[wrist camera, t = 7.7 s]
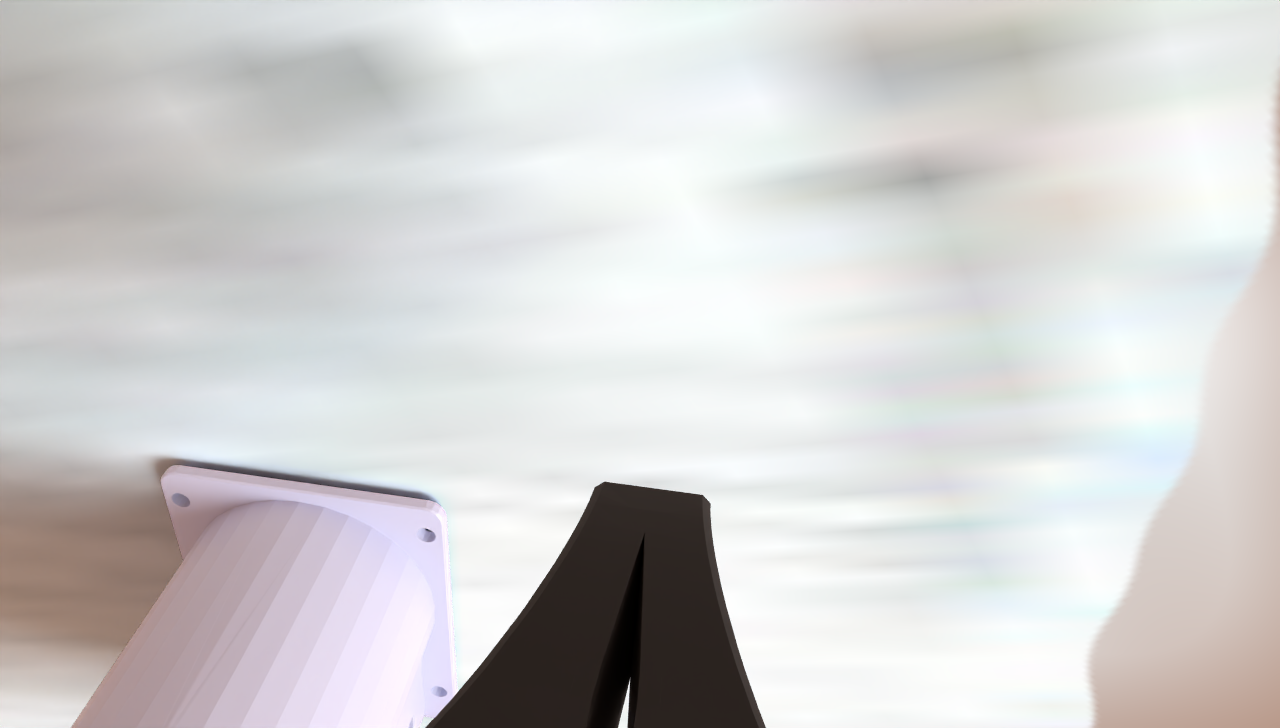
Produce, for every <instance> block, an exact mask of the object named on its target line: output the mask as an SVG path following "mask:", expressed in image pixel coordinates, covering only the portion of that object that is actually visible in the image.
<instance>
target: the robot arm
mask: <svg viewBox="0 0 1280 728" xmlns="http://www.w3.org/2000/svg"><path fill="white" fill-rule="evenodd" d="M160 480H161V486H162V490H163V493H164V497H165V500H166V504H167V507H168V511H169V514H170V517H171V521H172V524H173V528H174V531H175V535H176V538H177V541H178V545H179V548H180V552H181V555H182V559H183V562H182V563H181V565H180V566H179V568H178V569H177V571H176V572H175V574H174V575H173V577H172V578H171V580H170V581H169V583H168V584H167V586H166V587H165V589H164V590H163V592H162V593H161V595H160V596H159V598H158V599H157V601H156V602H155V604H154V605H153V607H152V608H151V609H150V611H149V612H148V614H147V615H146V617H145V618H144V620H143V621H142V623H141V624H140V626H139V627H138V629H137V630H136V632H135V633H134V635H133V636H132V638H131V639H130V641H129V642H128V644H127V645H126V647H125V648H124V650H123V651H122V653H121V654H120V656H119V657H118V659H117V660H116V661H115V663H114V664H113V666H112V667H111V669H110V670H109V672H108V673H107V675H106V676H105V678H104V679H103V681H102V682H101V684H100V685H99V687H98V688H97V690H96V691H95V693H94V694H93V696H92V697H91V699H90V700H89V702H88V703H87V705H86V706H85V708H84V709H83V711H82V712H81V714H80V715H79V716H78V718H77V719H76V721H75V722H74V724H73V725H72V727H71V728H420V725H421V722H422V720H423V717H424V716H425V717H431V718H434V719H433V720H432V721H431V722H430V723H429V724H428V726H427V727H426V728H618V725H619V721H620V717H621V713H622V709H623V705H624V701H625V697H626V693H627V689H628V685H629V681H630V693H629V711H628V728H766V727H765V724H764V722H763V719H762V717H761V714H760V711H759V709H758V706H757V703H756V700H755V697H754V695H753V692H752V689H751V686H750V683H749V680H748V678H747V675H746V672H745V669H744V666H743V662H742V659H741V656H740V653H739V650H738V647H737V643H736V639H735V636H734V632H733V629H732V625H731V622H730V618H729V615H728V611H727V608H726V604H725V600H724V596H723V591H722V587H721V583H720V578H719V573H718V568H717V563H716V558H715V552H714V546H713V538H712V530H711V517H710V502H709V501H708V500H707V499H706V498H705V497H704V496H703V495H698V494H691V493H684V492H676V491H669V490H662V489H654V488H647V487H639V486H632V485H625V484H617V483H610V482H603V483H602V484H600V485H598V486H596V487H595V488H594V491H593V493H592V496H591V498H590V501H589V503H588V505H587V507H586V509H585V511H584V513H583V515H582V517H581V519H580V521H579V523H578V524H577V526H576V528H575V530H574V532H573V533H572V535H571V537H570V539H569V540H568V542H567V544H566V545H565V547H564V549H563V550H562V552H561V554H560V555H559V557H558V559H557V560H556V562H555V563H554V565H553V566H552V568H551V569H550V571H549V572H548V574H547V575H546V577H545V578H544V580H543V581H542V583H541V584H540V586H539V587H538V589H537V590H536V592H535V593H534V595H533V596H532V598H531V599H530V601H529V602H528V604H527V605H526V606H525V608H524V609H523V611H522V612H521V613H520V615H519V616H518V617H517V619H516V620H515V621H514V623H513V624H512V625H511V626H510V628H509V629H508V630H507V632H506V633H505V634H504V636H503V637H502V638H501V639H500V641H499V642H498V643H497V645H496V646H495V647H494V649H493V650H492V651H491V652H490V654H489V655H488V656H487V658H486V659H485V660H484V661H483V663H482V664H481V665H480V666H479V668H478V669H477V670H476V671H475V672H474V674H473V675H472V676H471V677H470V678H469V680H468V681H467V682H466V683H465V684H464V685H463V687H462V688H461V689H460V690H459V691H458V687H457V671H456V655H455V638H454V622H453V606H452V590H451V574H450V558H449V541H448V525H447V515H446V512H445V510H444V509H443V508H442V506H441V505H439V504H437V503H436V502H433V501H429V500H423V499H416V498H409V497H402V496H395V495H388V494H381V493H373V492H366V491H359V490H352V489H345V488H338V487H331V486H324V485H317V484H310V483H303V482H295V481H288V480H281V479H274V478H267V477H260V476H253V475H246V474H239V473H232V472H224V471H217V470H210V469H203V468H196V467H189V466H182V465H173V466H171V467H169V468H168V469H167V470H166V471H165V473H164V474H163V475H162V477H161V478H160ZM184 495H185V496H184ZM425 528H426V529H429V530H431V531H432V532H430V531H427V530H425Z"/></svg>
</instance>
